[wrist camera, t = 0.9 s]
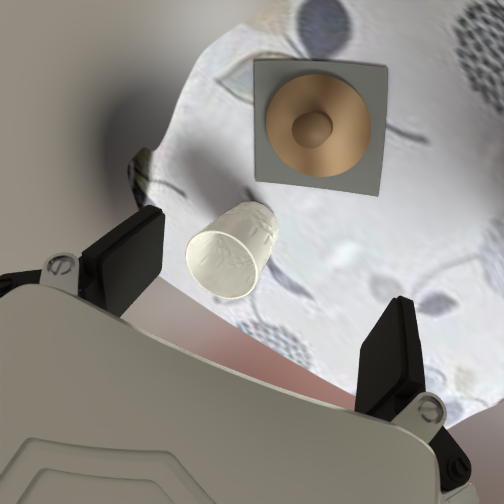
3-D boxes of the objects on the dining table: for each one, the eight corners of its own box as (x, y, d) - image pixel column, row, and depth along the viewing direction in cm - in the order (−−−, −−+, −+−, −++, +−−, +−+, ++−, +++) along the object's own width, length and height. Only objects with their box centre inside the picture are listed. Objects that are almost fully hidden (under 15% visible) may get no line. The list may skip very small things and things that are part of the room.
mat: (387, 68, 24) (388, 68, 24) (378, 195, 31) (378, 196, 31) (255, 61, 29) (254, 61, 28) (256, 180, 35) (255, 181, 35)
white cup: (215, 206, 39) (172, 240, 31) (269, 188, 35) (237, 221, 27) (239, 258, 42) (205, 302, 34) (293, 246, 38) (269, 293, 30)
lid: (373, 79, 25) (375, 75, 20) (366, 181, 31) (366, 198, 26) (267, 73, 29) (248, 70, 24) (268, 169, 34) (250, 184, 29)
